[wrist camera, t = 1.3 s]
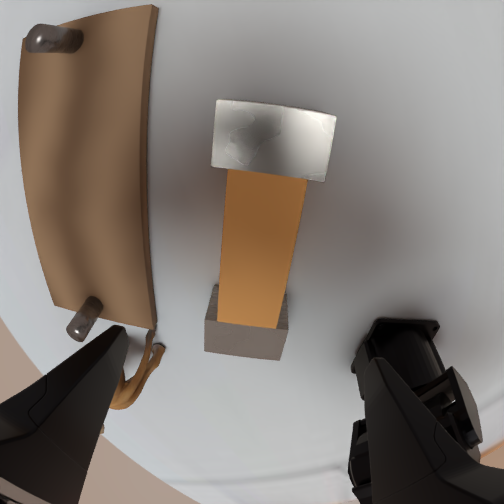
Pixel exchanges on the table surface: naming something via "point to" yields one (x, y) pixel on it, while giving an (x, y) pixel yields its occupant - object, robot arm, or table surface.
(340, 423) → the table surface
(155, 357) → the lion figurine
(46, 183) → the board
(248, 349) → the hammer
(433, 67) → the table surface
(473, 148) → the table surface
